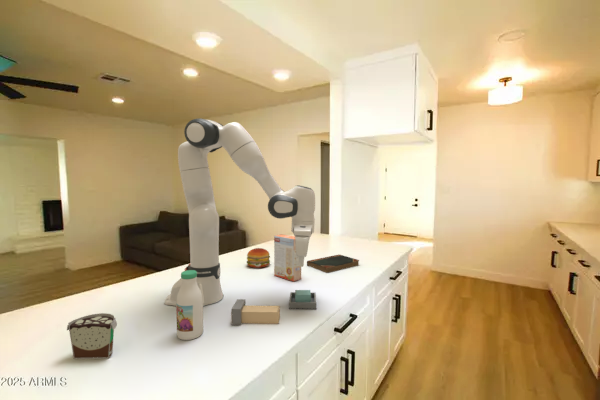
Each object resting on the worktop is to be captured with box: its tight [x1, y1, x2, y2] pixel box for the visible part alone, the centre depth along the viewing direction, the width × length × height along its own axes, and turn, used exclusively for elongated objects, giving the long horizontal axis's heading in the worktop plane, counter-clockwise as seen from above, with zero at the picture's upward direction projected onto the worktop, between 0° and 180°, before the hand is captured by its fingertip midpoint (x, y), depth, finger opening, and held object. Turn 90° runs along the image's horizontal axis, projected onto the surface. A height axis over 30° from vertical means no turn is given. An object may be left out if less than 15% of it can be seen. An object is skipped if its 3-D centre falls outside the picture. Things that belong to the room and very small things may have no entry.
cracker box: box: [273, 234, 302, 282], centre depth 145 cm, size 14×6×21 cm, turn 47°
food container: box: [66, 312, 118, 360], centre depth 82 cm, size 12×6×10 cm, turn 92°
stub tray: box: [288, 291, 317, 310], centre depth 115 cm, size 10×10×2 cm
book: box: [306, 254, 360, 274], centre depth 167 cm, size 17×4×25 cm
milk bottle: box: [175, 270, 204, 341], centre depth 91 cm, size 8×8×20 cm
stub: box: [294, 289, 312, 302], centre depth 115 cm, size 6×5×4 cm
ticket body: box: [230, 298, 281, 326], centre depth 101 cm, size 16×8×6 cm, turn 89°
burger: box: [246, 247, 271, 269], centre depth 166 cm, size 13×14×10 cm
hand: (301, 262), depth 114 cm, fingers open, 8 cm apart
